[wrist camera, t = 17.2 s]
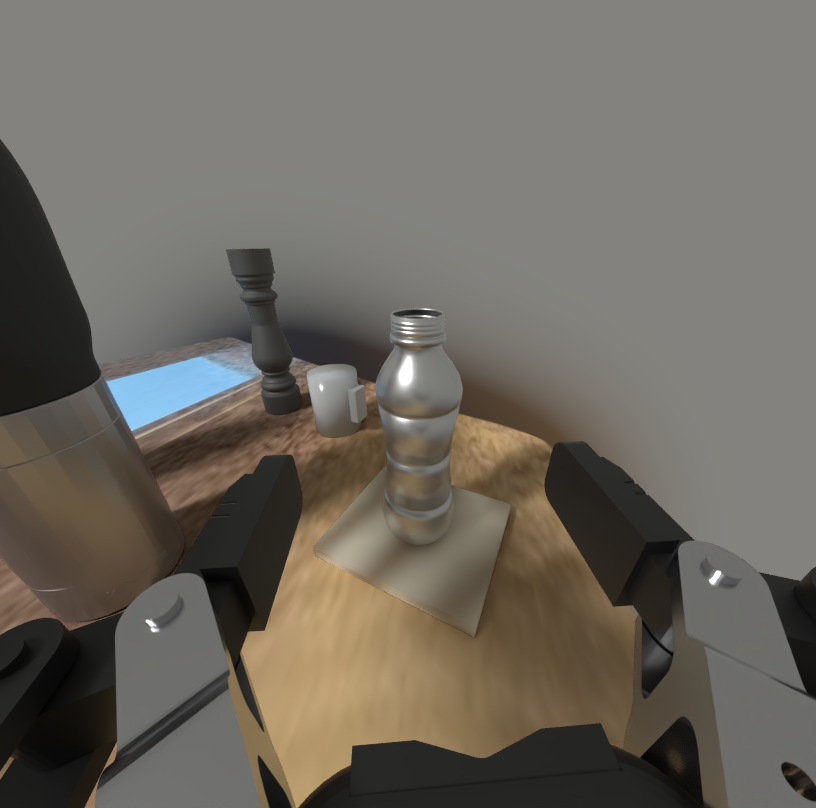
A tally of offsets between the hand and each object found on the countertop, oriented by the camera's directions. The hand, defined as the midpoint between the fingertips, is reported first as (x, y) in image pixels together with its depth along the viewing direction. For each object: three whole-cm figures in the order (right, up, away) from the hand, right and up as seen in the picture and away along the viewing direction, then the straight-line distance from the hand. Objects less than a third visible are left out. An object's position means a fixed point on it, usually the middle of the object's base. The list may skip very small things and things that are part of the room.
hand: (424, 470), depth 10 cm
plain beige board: (+1, -11, +21) cm, 24 cm away
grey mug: (-11, -1, +39) cm, 41 cm away
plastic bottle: (+1, -10, +20) cm, 23 cm away
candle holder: (-22, +2, +46) cm, 51 cm away
